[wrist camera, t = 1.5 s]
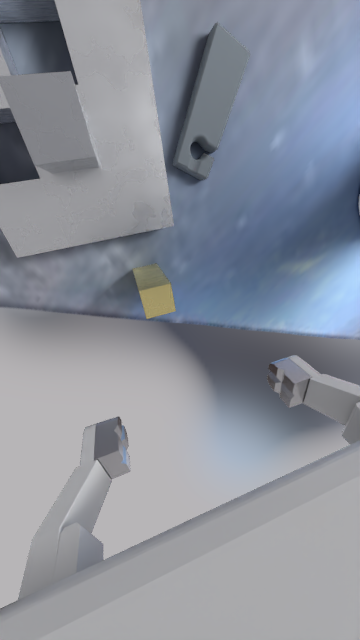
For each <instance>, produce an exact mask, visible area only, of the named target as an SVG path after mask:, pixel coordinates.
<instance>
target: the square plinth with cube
mask: <svg viewBox="0 0 360 640" xmlns="http://www.w3.org/2000/svg"><path fill="white" fill-rule="evenodd" d="M44 21H61V25H62V28H63V32H64V36H65V39H66V43H67V46H68V50H69V53H70V57H71V60H72V64H73V67H74V71H75V74H76V78H77V81H78V85H75V83H74V80H73V77H72V73H71V71H66V72H52V73H38V74H24V75H18V72H17V70H16V67H15V65H14V62H13V59H12V57H11V54H10V52H9V49H8V46H7V44H6V41H5V39H4V36H3V33H2V31H1V28H0V124H2V123H11V122H16V123H17V126H18V128H19V130H20V133H21V135H22V137H23V140H24V142H25V144H26V147H27V149H28V152H29V154H30V156H31V159H32V161H33V163H34V165H35V167H36V169H37V172H38V174H39V177H40V179H33V180H27V181H20V182H13V183H7V184H0V228H1V230H2V232H3V234H4V235H5V237H6V239H7V241H8V242H9V244H10V246H11V248H12V250H13V251H14V253H15V255H16V257H17V258H19V257H24V256H29V255H34V254H39V253H44V252H49V251H54V250H59V249H64V248H68V247H73V246H78V245H83V244H88V243H93V242H98V241H103V240H108V239H113V238H118V237H122V236H127V235H132V234H137V233H142V232H147V231H152V230H157V229H162V228H167V227H171V226H174V222H173V215H172V209H171V202H170V195H169V189H168V182H167V175H166V169H165V162H164V155H163V149H162V142H161V135H160V129H159V122H158V115H157V109H156V102H155V95H154V89H153V82H152V75H151V69H150V62H149V56H148V49H147V42H146V36H145V29H144V22H143V16H142V9H141V2H140V0H0V23H15V22H44Z"/></svg>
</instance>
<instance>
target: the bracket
mask: <svg viewBox="0 0 360 640" xmlns="http://www.w3.org/2000/svg"><path fill="white" fill-rule="evenodd" d="M249 57H250V51H249V50H247V49H246V48H245V47H244V46H243V45H242V44H241V43H240V42H239V41H238V40H237V39H235V38H234V37H233V36H232V35H231V34H230V33H229V32H228V31H227V30H226V29H225V28H223V27H222V26H221V25H220V24H219V23H218V22H217V23H216V24H215V25H214V26H213V28H212V30H211V31H210V33H209V35H208V39H207V42H206V46H205V49H204V53H203V56H202V60H201V64H200V67H199V71H198V74H197V78H196V81H195V85H194V88H193V92H192V96H191V99H190V103H189V106H188V110H187V113H186V117H185V120H184V124H183V128H182V131H181V135H180V138H179V142H178V145H177V149H176V153H175V156H174V160H173V166H174V167H176V168H178V169H180V170H182V171H184V172H186V173H188V174H190V175H192V176H194V177H196V178H197V179H199V180H205V179H207V178H208V175H209V173H210V170H211V167H212V164H213V161H214V158H213V157H211V156H209V155H207V154H205V153H203V155H202V156H201V157H200V159H198V160H196V159H194V158H193V157H192V155H191V152H190V146H191V144H192V143H193V142H198V143H199V144H200V146H201V147H202V148H203V149H204V151H208V152H210V153H213V152H215V151H216V150H217V149H218V147H219V144H220V141H221V138H222V135H223V132H224V129H225V126H226V124H227V121H228V118H229V115H230V112H231V109H232V106H233V103H234V101H235V98H236V95H237V92H238V89H239V86H240V83H241V80H242V77H243V75H244V72H245V69H246V66H247V63H248V60H249Z"/></svg>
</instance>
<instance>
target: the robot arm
mask: <svg viewBox="0 0 360 640" xmlns="http://www.w3.org/2000/svg"><path fill="white" fill-rule="evenodd" d="M359 214H360V196H359ZM268 369H269V370H270V372H269V373H268V376H267V380H268V383H269V385H270V387H271V388H272V389H273V390H274V391H275V392H278V393H280V398H281V399H282V400H283V401H284V403H285V404H286V405H287V406H288V407H289V408H290V407H293V406H295V405H298V404H301V403H304V404H305V405H307V406H309V407H311V408H313V409H315V410H317V411H318V412H320V413H322V414H324V415H326V416H328V417H330V418H332V419H333V420H335V421H337V422H339V423H341V424H343V425H345V427H344V429H343V431H342V436H343V438H345V440H346V441H347V442H349V444H350V445H348V446H346V447H344V448H342V449H340V450H338V451H336V452H333V453H331V454H329V455H327V456H325V457H323V458H321V459H319V460H316V461H314V462H312V463H310V464H308V465H306V466H304V467H301V468H299V469H297V470H295V471H293V472H291V473H289V474H286V475H285V476H282V477H280V478H278V479H276V480H274V481H272V482H269V483H267V484H265V485H263V486H261V487H259V488H257V489H254V490H252V491H251V492H248V493H246V494H244V495H242V496H240V497H237V498H235V499H233V500H231V501H229V502H227V503H225V504H222V505H220V506H218V507H216V508H214V509H212V510H210V511H208V512H205V513H203V514H201V515H199V516H197V517H195V518H193V519H190V520H188V521H186V522H184V523H182V524H180V525H178V526H176V527H173V528H171V529H169V530H167V531H165V532H163V533H161V534H159V535H157V536H154V537H152V538H150V539H148V540H146V541H143V542H141V543H139V544H137V545H135V546H133V547H131V548H128V549H127V550H125V551H122V552H120V553H118V554H116V555H114V556H112V557H109V558H107V559H105V560H103V544H102V543H101V542H100V541H99V540H98V539H97V538H95V537H94V536H93V535H92V534H91V533H92V530H93V528H94V525H95V523H96V520H97V517H98V515H99V512H100V510H101V507H102V505H103V502H104V500H105V497H106V495H107V492H108V489H109V487H110V484H111V482H112V480H111V479H113V478H116V477H118V476H121V475H123V474H125V473H128V472H130V458H129V454H128V452H127V448H128V437H127V433H126V429H125V427H124V426H123V425H122V424H121V419H120V417H116V418H113V419H109V420H106V421H103V422H100V423H97V424H94V425H91V426H88V427H86V428H85V430H84V434H83V444H82V451H81V460H80V466H78V467H76V469H75V470H74V472H73V474H72V475H71V477H70V479H69V480H68V482H67V483H66V485H65V487H64V488H63V490H62V492H61V493H60V495H59V497H58V498H57V500H56V501H55V503H54V505H53V507H52V508H51V510H50V511H49V513H48V514H47V516H46V518H45V519H44V521H43V523H42V524H41V526H40V528H39V529H38V531H37V532H36V534H35V536H34V537H33V539H32V542H31V546H30V551H29V555H28V560H27V564H26V568H25V572H24V577H23V581H22V585H21V589H20V594H19V598H18V600H17V601H16V602H13V603H11V604H9V605H7V606H5V607H3V608H0V640H360V386H359V385H356V384H353V383H350V382H347V381H344V380H341V379H338V378H335V377H332V376H328V375H326V374H320V373H318V372H317V371H316V370H315V369H313V368H312V367H311V366H310V365H308V364H307V363H306V362H305V361H303V360H302V359H300V358H299V357H298V356H296V355H293V356H290V357H287V358H284V359H281V360H278V361H275V362H273V363H270V364H269V368H268Z"/></svg>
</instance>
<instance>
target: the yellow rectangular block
mask: <svg viewBox="0 0 360 640" xmlns="http://www.w3.org/2000/svg"><path fill="white" fill-rule="evenodd" d="M133 273H134V277H135V280H136V284H137V287H138V291H139V294H140V298H141V301H142V305H143V308H144V311H145V315H146V318H147V319H149V318H152V317H156V316H160V315H163V314H167V313H171V312H174V311H176V309H175V304H174V298H173V293H172V288H171V283H170V282H169V280H168V279H167V277H166V276H165V275H164V273H163V272H162V270H161V269H160V268H159V266H158V265H157V264H156V263H155V264H151V265H147V266H142V267H138V268H134V269H133Z"/></svg>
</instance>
